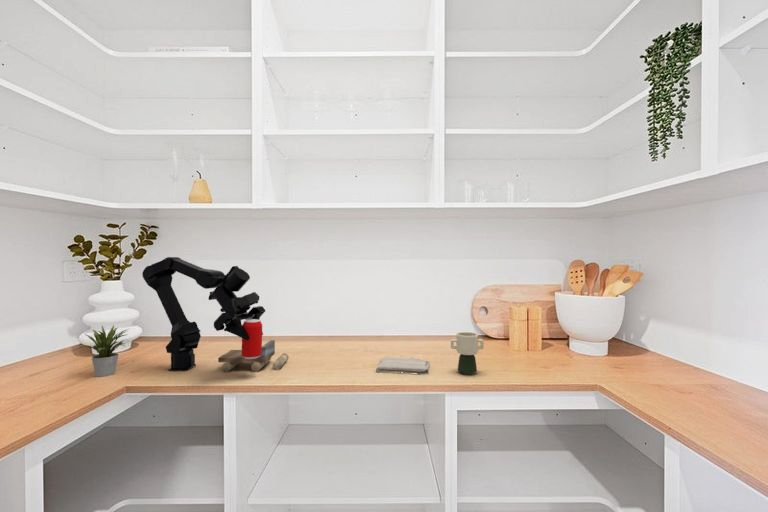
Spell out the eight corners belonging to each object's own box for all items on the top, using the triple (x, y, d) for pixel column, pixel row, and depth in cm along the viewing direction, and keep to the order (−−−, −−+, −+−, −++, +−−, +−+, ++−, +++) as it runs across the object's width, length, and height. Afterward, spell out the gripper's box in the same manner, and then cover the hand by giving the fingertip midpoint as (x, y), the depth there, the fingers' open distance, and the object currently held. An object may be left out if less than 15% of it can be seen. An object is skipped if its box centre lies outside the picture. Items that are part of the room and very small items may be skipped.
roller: (272, 369, 127) (272, 360, 127) (280, 361, 137) (280, 353, 137) (281, 369, 127) (281, 360, 127) (288, 361, 137) (288, 353, 137)
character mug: (481, 369, 126) (481, 331, 126) (486, 376, 119) (486, 336, 119) (449, 369, 127) (449, 331, 127) (452, 376, 120) (452, 335, 120)
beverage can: (258, 354, 124) (259, 318, 124) (263, 358, 119) (264, 321, 119) (239, 356, 120) (240, 319, 120) (243, 361, 115) (244, 322, 115)
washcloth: (429, 376, 121) (429, 367, 121) (374, 374, 123) (375, 364, 124) (430, 366, 133) (430, 357, 133) (380, 364, 135) (380, 355, 135)
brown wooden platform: (216, 372, 124) (217, 348, 125) (232, 361, 137) (232, 339, 138) (264, 371, 125) (264, 348, 125) (275, 361, 138) (275, 339, 138)
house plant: (129, 377, 119) (130, 326, 119) (74, 384, 112) (74, 331, 112) (134, 366, 131) (134, 320, 131) (84, 372, 124) (84, 323, 125)
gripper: (221, 286, 112) (251, 326, 108) (261, 283, 130) (287, 316, 126) (201, 310, 115) (228, 350, 111) (242, 304, 132) (267, 337, 129)
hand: (255, 337), depth 119 cm, fingers closed on beverage can, 6 cm apart
